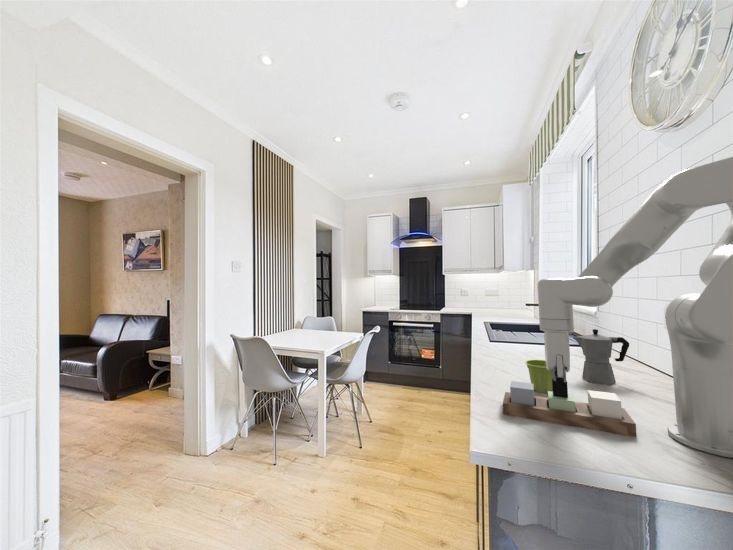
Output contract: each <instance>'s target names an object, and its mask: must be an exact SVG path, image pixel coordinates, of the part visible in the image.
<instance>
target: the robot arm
mask: <svg viewBox="0 0 733 550" xmlns="http://www.w3.org/2000/svg"><path fill="white" fill-rule="evenodd" d="M723 204H726V205H727V206H728V208H729V210H730V213H731V215H730V216H731V217H730V221H729V223H728V225H727V226H726V229H724V232H723V234H722V235H721V236H720V238H719V239H718V241H717V242H716V244H715V245H714V246H713V248H712V250H711V251H710V252H709V253H708V255H707V256H706V257H705V259H704V260H703V262H702V263H701V265H700V267H699V270H698V271H699V272H698V273H699V274H698V275H699V278H700V280H701V282H702V283H703V284H705V285H706V286H705V288H704V290H703V291H702V293H701V292H699V293H698V292H695V293H686V294H682V295H680V296H678V297H677V296H676V298H674V299H673V300H671V301H670V302H669V304H668V305H667V307H666V309H665V314H664V316H665V320H664V321H665V325H666V328H667V329H666V330H667V334H668V338H669V344H670V345H669V346H670V351H671V363H672V364H671V366H672V378H673V380H672V381H673V388H674V389H673V391H674V393H673V394H674V403H675V404H674V405H675V415H676V417H675V418H676V423H673V424H669V425H667V428H666V429H667V433H668V435H669V436H670V437H672V439H674V440H676V441H677V442H679V443H681V444H683V445H686V446H688V447H690V448H691V449H692V448H693V449H696V450H698V451H701V452H705V453H708V454H713V455H716V456H719V457H724V458H730V459H733V156H730V157H727V158H724V159H718V160H716V161H712V162H709V163H704V164H702V165H698V166H694V167H691V168H688V169H684V170H682V171H679V172H677V173H675V174H673V175H671V176H670V177H669V178H667V179H666V180H664V181H663V182H662V183H661V184H659V185H658V186H657V188H655V189H654V190H653V191H652V193H650V195H649V196H648V197H647V198H646V199H645V200H644V202H642V203H641V204H640V205H639V207H638V208H637V209H636V210H635V211H634V213H633V214H632V215H631V216H630V217H629V218H628V220H626V221H625V223H623V225H622V226H621V227H620V228H619V229H618V230H617V231H616V232H615V234H613V236H612V237H611V238H610V240H609V241H607V243H606V244H605V246H604V247H603V248H602V249H601V251H599V253H598V254H597V256H595V257H594V259H593V260H592V261H591V262H590V263H589V264H588V265H587V266H586V267H585V269H584V270H583V271H582V272H581V273H580V274H579V275H578V276H577V277H574V278H565V277H554V278H552V277H551V278H542V279H539V280H538V282H537V301H538V318H539V330H540V331H542V332H544V357H545V358H544V360H545V361H546V368H547V370H548V371H550V369H551V370H552V373H553V379H552V389H553V396H556V397H564V398H568V394H569V393H568V392H569V390H568V389H569V388H568V380H567V373H569V372H570V371H571V355H570V354H571V351H570V333H574V332H575V326H574V325H575V324H574V310H573V309H574V308H573V306H581V307H587V308H588V307H589V308H591V307H593V308H594V307H601V306H604V305H606V304H607V303H609V301H610V300H611V299H612V297H613V295H614V291H613V287H614V286H615V284H616V283H617V282H619V281H620V279H621V278H623V276H625V275H626V274H627V273H628V272H629V271H631V270H632V269H633V268H634V267H635V268H636V266H638V265H640V264H641V263H643V262H645V261H647V260H648V259H649V258H650V257H652V256H653V255H654V254H656V252H658V251H659V250H660V248H661V247H662V246H663V245H664V244H665V243H666V242H667V241H668V240H669V238H671V236H672V235H674V233H676V231H678V229H679V228H680V227H681V226H682V225H683V224H684V223H686V222H687V220H688V219H689V218H690V217H692V215H693V214H695V212H697V211H699V210H700V209H703V208H707V207H711V206H716V205H723Z"/></svg>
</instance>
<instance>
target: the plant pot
mask: <svg viewBox="0 0 733 550" xmlns="http://www.w3.org/2000/svg"><path fill="white" fill-rule="evenodd" d="M524 362H525V364H526V367H527V369H528V372H529V373H528V374H529V378H530V379H529V380H530V383H532V384H533V385H534V391H536V392H537V393H542V394H543V393H544V394H548V391H551V392H553V389H552V379H553V373H552V370H551V369H550V371H548V370H547V368H546V361H545V359H544V360H543V359H528V360H526V361H524Z"/></svg>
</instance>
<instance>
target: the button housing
mask: <svg viewBox="0 0 733 550" xmlns="http://www.w3.org/2000/svg"><path fill="white" fill-rule="evenodd" d="M534 404H535V406H531V405H524V404H518V403H511V393H510V392H508V391H505V392H504V397H503V401H502V415H503V416H510V417H515V418H520V419H521V418H522V419H525V420H526V419H527V420H530V421H531V420H532V421H539V422H543V423H549V424H555V425H561V426H566V427H572V428H577V429H583V430H584V429H585V430H589V431H596V432H602V433H608V434H612V435H618V436H619V435H620V436H624V437H630V438H638V437H637V435H638V434H637V423H636V422H635V420H634V419H633V418H632V417H631V415H630V413H628V411H627V410H626V409H625V408H624V407H621V408H622V419H616V418H610V417H603V416H596V415H591V414H590V411H589V406H588V402H581V401H575V409H576V412H570V411H564V410H557V409H550V408H549V405H548V397H544V396H537V395H534Z"/></svg>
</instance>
